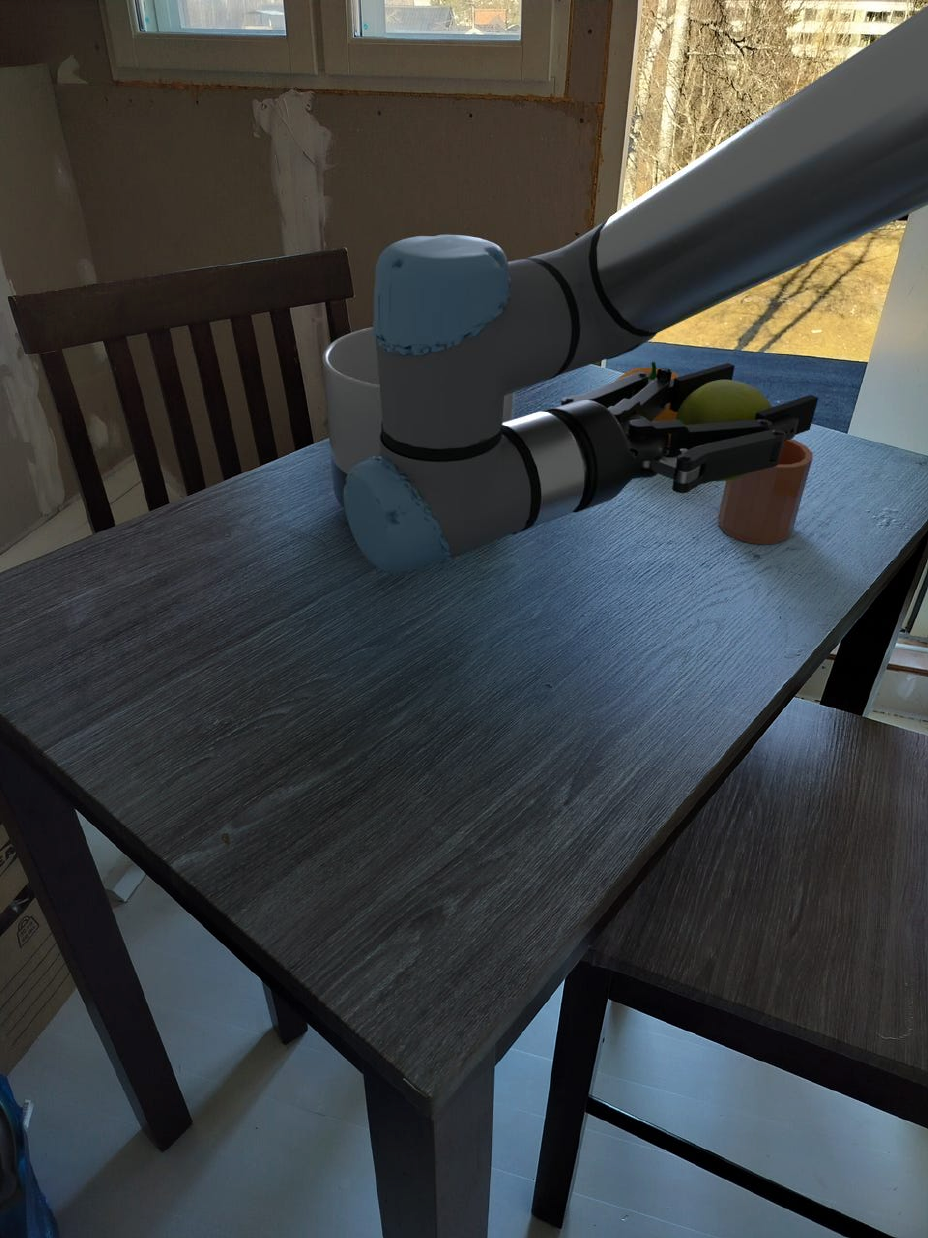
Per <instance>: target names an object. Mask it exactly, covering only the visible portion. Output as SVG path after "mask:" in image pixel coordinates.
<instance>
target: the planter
mask: <svg viewBox="0 0 928 1238" xmlns="http://www.w3.org/2000/svg"><path fill="white" fill-rule="evenodd" d="M321 362H322V373H323V384H324V395H325V396H324V397H325V407H326V417H327V418H326V419H327V428H328V439H329V450H330V451H329V452H330V463H331V474H332V484H333V493H334V495H335V498H336V500H337V502H338V503H339V504H340V506H341V507H342V508H343V509H345V507H344V496H343V494H344V487H345V485H346V484H347V482H346V478H347V475H348V472H349V471H350V469H351V468H353V467H354V466H355V465H357V464H359V463H361V462H363V461H366V460H368V458H370V457H374V456H375V455H380V433H381V422H382V409H381V397H380V385H379V374H378V362H377V350H376V340H375V337H374V333H373V326H371V327H367V328H363V329H359V330H356V331H353V332H350V333H347V334H345V335H343V336H341V337H339V338H337V339H335V340H333V341H332V342H331V343H329V345H327V346H326V348H325V349H324V351H323V353H322V358H321ZM515 408H516V392H513V393H510V394H507V395H506V396H504V406H503V422H506V421H510V420H513V419H515ZM503 422H502V423H503Z"/></svg>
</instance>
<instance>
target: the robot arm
mask: <svg viewBox="0 0 928 1238" xmlns="http://www.w3.org/2000/svg"><path fill="white" fill-rule="evenodd" d="M926 206H928V5H926V6H924V7H923V8H922V9H920V10H919V11H918V12H916V13H915V14H912V16H910V17H909V18H907V19H905V20H904V21H902V22H901V23H900V24H898V25H896V26H895V27H893V28H892V29H890V30H889V31H887V32H885V34H883V35H882V36H880V37H879V38H877V39H876V40H874V41H872V42H871V43H869V44H868V45H867V46H865V47H863V48H862V49H860V50H859V51H858V52H856V53H854V54H853V55H851V56H850V57H848V58H846V60H844V61H842V62H841V63H839V64H838V65H837V66H835V67H833V68H832V69H830V70H829V71H828V72H826V73H825V74H823V75H822V76H820V77H819V78H817V79H815V80H814V81H812V82H811V83H810V84H808V85H806V86H805V87H803V88H802V89H800V90H799V91H797V92H796V93H794V94H793V95H791V96H790V97H788V98H787V99H786V100H784V101H782V102H781V103H779V104H778V105H776V106H775V107H773V108H772V109H770V110H768V111H767V112H766V113H764V114H763V115H761V116H760V117H758V118H756V119H755V120H753V122H751V123H749V124H748V125H746V126H745V127H743V128H741V129H740V130H739V131H738V132H736V133H733V135H731V136H730V137H728V138H727V139H725V140H724V141H722V142H721V143H720V144H718V145H716V146H715V147H713V148H712V149H710V150H708V151H707V152H706V153H704V154H703V155H701V156H700V157H698V158H697V159H695V160H693V161H692V162H691V163H689V164H688V165H686V166H685V167H683V168H681V169H680V170H679V171H677V172H675V173H674V174H673V175H671V176H670V177H668V178H667V179H665V180H663V181H662V182H661V183H659V184H657V185H656V186H655V187H653V188H652V189H650V190H649V191H647V192H645V193H644V194H642V195H641V196H640V197H638V198H636V199H635V200H633V201H632V202H631V203H629V204H628V205H626V206H625V207H623V208H622V209H620V210H619V211H617V212H616V213H614V214H613V215H611V216H610V217H609V218H608V219H607V220H605V221H604V222H602V223H601V224H598V225H596V226H595V227H593V228H592V229H591V230H589V231H588V232H586V233H584V234H583V235H582V236H580V237H578V238H577V239H575V240H574V241H572V242H570V243H569V244H567V245H565V246H563V247H560V248H559V249H555V250H552V251H549V252H546V253H542V254H537V255H534V256H530V257H524V258H520V259H516V260H511V261H508V258H507V255H506V253H505V252H504V250H503V249H502V248H501V247H500V246H499V245H498V244H496V243H495V242H492V241H490V240H487V239H483V238H480V237H474V236H470V235H460V234H438V235H434V236H430V235H429V236H428V235H419V236H412V237H407V238H403V239H401V240H398V241H395V242H393V243H391V244H390V245H388V246H387V247H386V248H385V249H384V250H383V251H382V252H381V253H380V255H379V256H378V259H377V261H376V265H375V273H374V274H375V275H374V276H375V279H374V287H373V320H372V327H373V333H374V337H375V340H376V350H377V362H378V374H379V385H380V397H381V409H382V422H381V433H380V455H375V456H374V457H370V458H368V460H366V461H363V462H361V463H359V464H357V465H355V466H354V467H353V468H351V469H350V471H349V472H348V475H347V478H346V482H347V484H346V485H345V487H344V494H343V496H344V507H345V508H344V507H343V508H344V512H345V517H346V520H347V523H348V526H349V529H350V532H351V534H352V537H353V540H354V541H355V543H356V545H357V546H358V548H359V550H360V551H361V553H362V554H363V556H364V557H365V558H366V559H367V560H368V561H370V562H371V563H372V564H373V565H374V566H375V567H376V568H377V569H378V570H380V571H382V572H384V573H387V574H392V575H399V574H403V573H407V572H411V571H414V570H417V569H421V568H424V567H427V566H428V567H429V566H431V565H435V564H444V563H448V561H450V560H452V559H454V558H457V557H459V556H462V555H464V554H466V553H469V552H471V551H474V550H476V549H478V548H481V547H483V546H486V545H488V544H491V543H494V542H495V541H498V540H500V539H503V538H506V537H508V536H510V535H517V534H520V533H522V532H525V531H527V530H529V529H532V528H534V527H537V526H540V525H544V524H546V523H549V522H552V521H555V520H558V519H561V518H563V517H566V516H568V515H570V514H572V513H579V512H581V511H584V510H588V509H590V508H593V507H595V506H598V505H601V504H604V503H608V502H609V501H611V500H613V499H615V498H617V496H619V494H620V493H621V492H622V491H623V490H624V489H625V487H626V486H627V485H629V483H630V482H631V481H633V480H636V479H648V478H653V477H656V476H657V475H661V476H663V477H666V478H668V479H671V480H672V484H671V485H672V486H671V490H672V491H673V492H675V493H677V494H687V493H689V492H691V491H692V490H694V489H696V488H697V487H699V486H701V485H704V484H708V483H713V482H715V481H717V480H721V479H725V478H729V477H733V476H737V475H742V474H746V473H750V472H754V471H758V470H762V469H766V468H770V467H775V466H777V465H778V463H779V459H780V455H781V452H782V448H783V444H784V441H787V440H790V439H792V440H794V438H795V436H796V435H800V434H802V433H805V432H808V431H810V430H811V427H812V423H813V419H814V416H815V412H816V408H817V405H818V401H819V397H817V396H815V395H812V394H808V395H805V396H802V397H800V398H797V399H792V400H789V401H788V402H784V403H781V404H779V405H775V406H772V408H769V409H766V410H763V411H760V412H757V413H756V415H755V419H754V420H745V421H733V422H720V423H708V424H696V425H684V424H683V423H682V422H681V421H680V420H667V421H654V422H652V421H653V420H654V419H655V418H656V417H657V416H658V415H659V414H661V413H662V412H663V411H664V410H665V409H666V407H667V403H670V408H669V410H672V411H674V412H678V410H679V408H680V406H681V404H682V403H683V402H684V400H685V399H686V398H687V397H688V396H689V395H690V394H691V393H692V392H694V391H695V390H697V389H698V388H700V387H701V386H703V385H705V384H707V383H709V382H713V381H717V380H733V376H734V371H735V364H732V363H729V362H726V363H723V364H720V365H716V366H712V367H708V368H705V369H702V370H698V371H695V372H691V373H688V374H684V375H681V376H680V377H677V378H674V379H671V375H672V372H673V370H672V369H670V368H667V367H661V368H660V367H659V369H658V371H657V378H656V379H655V380H654V381H653V380H649V374H648V373H645V372H638V373H635V374H632V375H630V376H627V377H625V378H622V379H620V380H617V379H616V380H617V381H616V380H615V382H614V381H613V382H610V383H607V384H605V385H602V386H600V387H598V388H595V389H593V390H590V391H588V392H585V393H582V394H576V395H570V396H564V397H562V398H561V401H560V405H559V406H556V407H552V408H548V409H546V410H544V411H536V412H533V413H529V414H526V415H523V416H520V417H517V418H514V419H513V420H510V421H506V422H503V406H504V396H506V395H507V394H510V393H513V392H515V393H516V392H518V391H521V390H524V389H526V388H530V387H532V386H535V385H537V384H540V383H542V382H543V383H544V382H545V381H549V380H552V379H555V378H557V377H558V376H561V375H564V374H567V373H569V372H573V371H575V370H578V369H582V368H584V367H587V366H589V365H590V366H591V365H592V364H596V363H598V362H599V363H600V362H601V361H604V360H607V361H608V360H611V359H616V358H618V357H620V356H622V355H625V354H627V353H631V352H633V351H635V350H637V349H638V348H639V347H642V345H644V344H646V343H647V342H649V341H650V340H652V339H654V338H655V336H656V335H657V334H659V333H660V332H661V333H662V332H663V331H665V330H667V329H669V328H671V327H674V326H675V325H678V324H680V323H682V322H684V321H687V320H689V319H690V318H693V317H694V316H697V315H698V314H701V313H704V312H705V311H707V310H709V309H712V308H714V307H715V306H718V305H720V304H722V303H724V302H726V301H728V300H731V299H732V298H734V297H737V296H739V295H741V294H744V293H745V292H747V291H750V290H751V289H754V288H755V287H758V286H760V285H762V284H764V283H766V282H769V281H771V280H773V279H775V278H776V277H780V275H783V274H785V273H787V272H789V271H792V270H794V269H796V268H799V267H800V266H803V265H804V264H806V263H809V262H811V261H812V260H815V259H817V258H819V257H821V256H823V255H825V254H827V253H829V252H831V251H834V250H837V249H838V248H841V247H842V246H844V245H846V244H849V243H851V242H853V241H855V240H857V239H859V238H861V237H864V236H865V235H867V234H869V233H872V232H874V231H876V230H878V229H880V228H882V227H884V226H887V225H888V224H891V223H893V222H895V221H897V220H899V219H901V218H903V217H905V216H908V215H910V214H912V213H914V212H916V211H918V210H921V209H922V208H924V207H926ZM502 422H503V423H502ZM668 434H671V436H670V442H669V435H668ZM668 443H669V446H668Z"/></svg>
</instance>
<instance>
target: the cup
mask: <svg viewBox="0 0 928 1238" xmlns="http://www.w3.org/2000/svg"><path fill="white" fill-rule="evenodd" d="M813 455H814V454H813V452H812V450H811V449H810V448H809V447H808V446H807V445H805V444H803V443H801V442H800V441H797V440H796V439H790V440H787V441H784V444H783V448H782V452H781V455H780V459H779V463H778V465H777V466H775V467H770V468H766V469H762V470H758V471H754V472H750V473H748V474H746V475H744V476H742V477H740V478H737V479H733V480H728V481H725V484H724V488H723V493H722V497H721V503H720V507H719V511H718V516H717V524H718V527H719V528H720V530H721V531H722V532H724V533H725V534H726V535H728V536H729V537H730V538H733V539H735V540H738V541H741V542H744V543H748V544H753V545H775V544H780V543H782V542H785V541H787V540H788V539H789V538H790V537H791V535H792V534H793V533H792V532H793V530H794V526H795V523H796V521H797V516H798V513H799V509H800V505H801V502H802V498H803V495H804V491H805V488H806V484H807V480H808V477H809V474H810V469H811V466H812V462H813Z"/></svg>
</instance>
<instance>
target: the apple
mask: <svg viewBox="0 0 928 1238" xmlns="http://www.w3.org/2000/svg"><path fill="white" fill-rule="evenodd" d="M772 407H773V406H772V404H771V403H770V402H769V400H768V398H766V396H765V395H764V394H763V393H762V392H760V391H759V390H758V389H757V388H755V387H754V386H752V385H749V384H747V383H744V382H741V381H738V380H733V379H732V380H717V381H713V382H709V383H707V384H705V385H703V386H701V387H700V388H698V389H697V390H695V391H694V392H692V393H691V394H690V395H689V396H688V397H687V398H686V399H685V400H684V402H683V403H682V404H681V406H680V408H679V410H678V412H677V415H676V418H675V420H680V421H681V422H682V423H683V424H684V425H696V424H708V423H720V422H733V421H745V420H754V419H755V415H756V413H757V412H760V411H763V410H766V409H769V408H772ZM746 474H748V473H746ZM746 474H742V475H737V476H733V477H729V478H725V479H721V480H717V481H714V482H715V483H716V482H717V483H719V482H726V481H728V480H733V479H737V478H740V477H742V476H744V475H746Z"/></svg>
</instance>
